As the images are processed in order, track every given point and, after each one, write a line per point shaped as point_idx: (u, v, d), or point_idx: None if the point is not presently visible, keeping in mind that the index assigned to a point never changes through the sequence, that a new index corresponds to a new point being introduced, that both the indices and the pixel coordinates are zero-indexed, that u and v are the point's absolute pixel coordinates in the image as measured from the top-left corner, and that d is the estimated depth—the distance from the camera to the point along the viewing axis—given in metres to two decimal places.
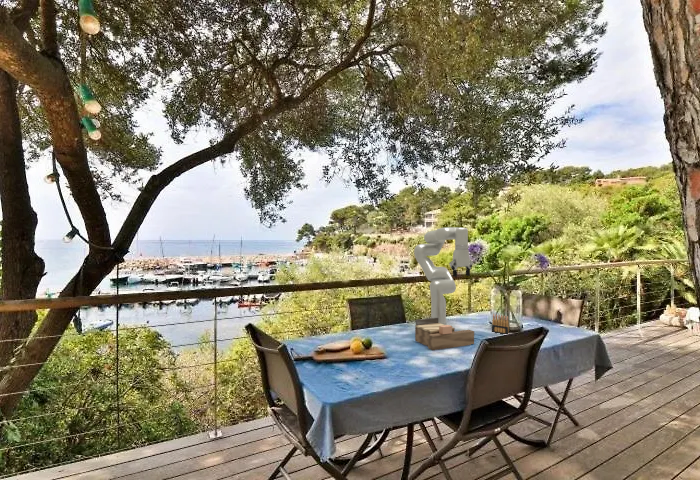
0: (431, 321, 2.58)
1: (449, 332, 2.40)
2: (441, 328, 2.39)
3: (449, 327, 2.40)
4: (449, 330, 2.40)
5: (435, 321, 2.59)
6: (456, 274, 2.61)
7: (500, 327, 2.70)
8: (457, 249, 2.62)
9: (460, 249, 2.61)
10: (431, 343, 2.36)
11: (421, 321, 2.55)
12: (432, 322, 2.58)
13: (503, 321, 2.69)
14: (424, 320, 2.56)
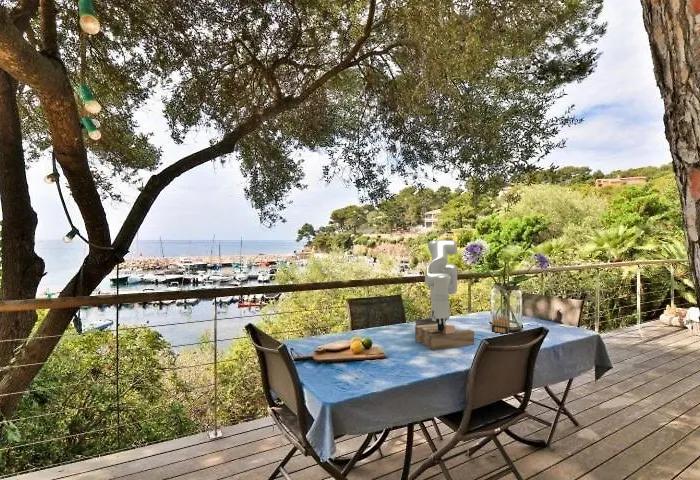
0: (431, 321, 2.58)
1: (452, 332, 2.41)
2: (444, 328, 2.40)
3: (452, 327, 2.41)
4: (452, 330, 2.41)
5: (435, 321, 2.59)
6: (441, 329, 2.38)
7: (500, 327, 2.70)
8: (436, 299, 2.37)
9: (439, 300, 2.36)
10: (431, 343, 2.36)
11: (421, 321, 2.55)
12: (432, 322, 2.58)
13: (503, 321, 2.69)
14: (424, 320, 2.56)
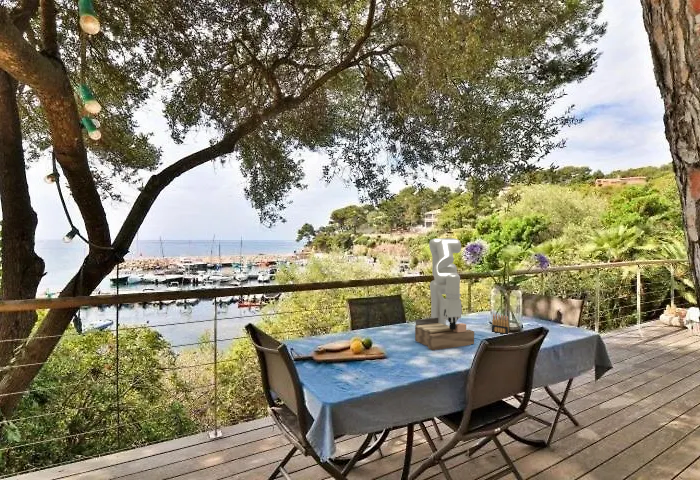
0: (431, 321, 2.58)
1: (463, 330, 2.44)
2: (456, 327, 2.43)
3: (463, 325, 2.44)
4: (464, 328, 2.44)
5: (435, 321, 2.59)
6: (453, 327, 2.41)
7: (500, 327, 2.70)
8: (448, 298, 2.40)
9: (451, 298, 2.39)
10: (431, 343, 2.36)
11: (421, 321, 2.55)
12: (432, 322, 2.58)
13: (503, 321, 2.69)
14: (424, 320, 2.56)
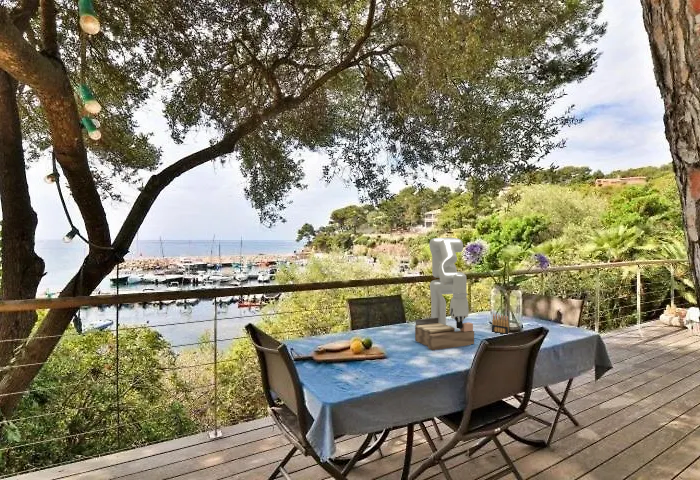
0: (431, 321, 2.58)
1: (470, 329, 2.46)
2: (462, 326, 2.45)
3: (470, 324, 2.46)
4: (470, 327, 2.46)
5: (435, 321, 2.59)
6: (460, 326, 2.43)
7: (500, 327, 2.70)
8: (455, 297, 2.42)
9: (458, 298, 2.41)
10: (431, 343, 2.36)
11: (421, 321, 2.55)
12: (432, 322, 2.58)
13: (503, 321, 2.69)
14: (424, 320, 2.56)
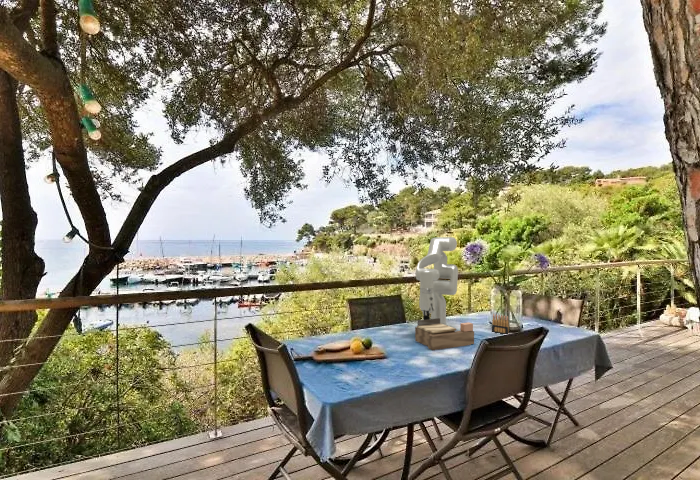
0: (433, 322, 2.56)
1: (470, 329, 2.46)
2: (463, 326, 2.45)
3: (470, 324, 2.46)
4: (470, 327, 2.46)
5: (437, 322, 2.57)
6: (423, 319, 2.58)
7: (500, 327, 2.70)
8: None
9: None
10: (431, 343, 2.36)
11: (423, 322, 2.53)
12: (434, 323, 2.57)
13: (503, 321, 2.69)
14: (426, 321, 2.54)
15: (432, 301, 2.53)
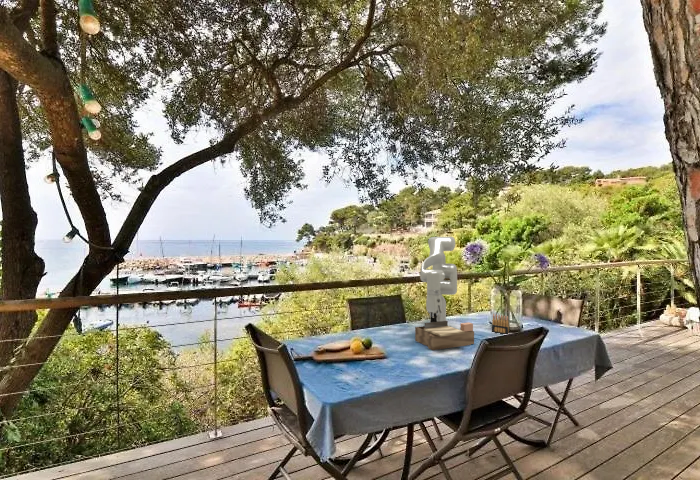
0: (440, 324, 2.50)
1: (470, 329, 2.46)
2: (463, 326, 2.45)
3: (470, 324, 2.46)
4: (470, 327, 2.46)
5: (444, 324, 2.51)
6: (430, 321, 2.51)
7: (500, 327, 2.70)
8: None
9: None
10: (431, 343, 2.36)
11: (430, 324, 2.47)
12: (441, 325, 2.50)
13: (503, 321, 2.69)
14: (433, 323, 2.48)
15: (439, 303, 2.47)
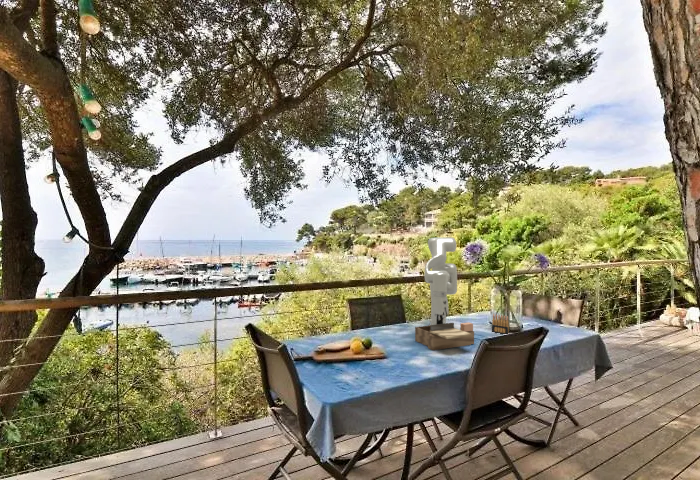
0: (446, 326, 2.44)
1: (470, 329, 2.46)
2: (463, 326, 2.45)
3: (470, 324, 2.46)
4: (470, 327, 2.46)
5: (450, 326, 2.45)
6: None
7: (500, 327, 2.70)
8: None
9: None
10: (431, 343, 2.36)
11: (436, 326, 2.41)
12: (447, 327, 2.45)
13: (503, 321, 2.69)
14: (439, 325, 2.42)
15: (446, 305, 2.41)
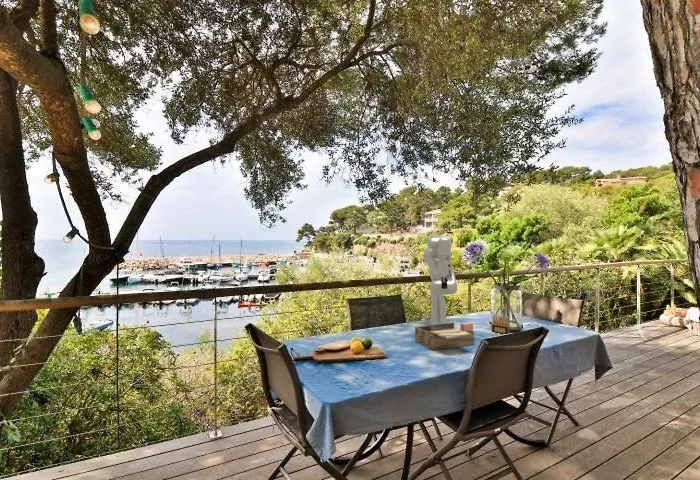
0: (446, 326, 2.44)
1: (470, 329, 2.46)
2: (463, 326, 2.45)
3: (470, 324, 2.46)
4: (470, 327, 2.46)
5: (450, 326, 2.45)
6: (441, 286, 2.65)
7: (500, 327, 2.70)
8: None
9: None
10: (431, 343, 2.36)
11: (436, 326, 2.41)
12: (447, 327, 2.45)
13: (503, 321, 2.69)
14: (439, 325, 2.42)
15: (450, 268, 2.60)
